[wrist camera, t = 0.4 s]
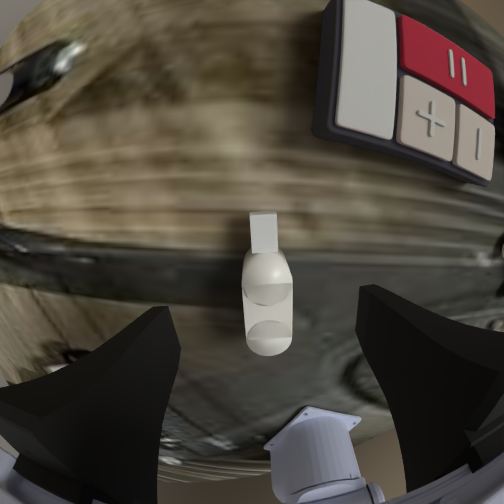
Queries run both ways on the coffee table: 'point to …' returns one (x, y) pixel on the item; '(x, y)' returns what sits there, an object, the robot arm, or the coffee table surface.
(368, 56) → the calculator
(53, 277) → the coffee table surface
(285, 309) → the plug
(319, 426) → the robot arm
